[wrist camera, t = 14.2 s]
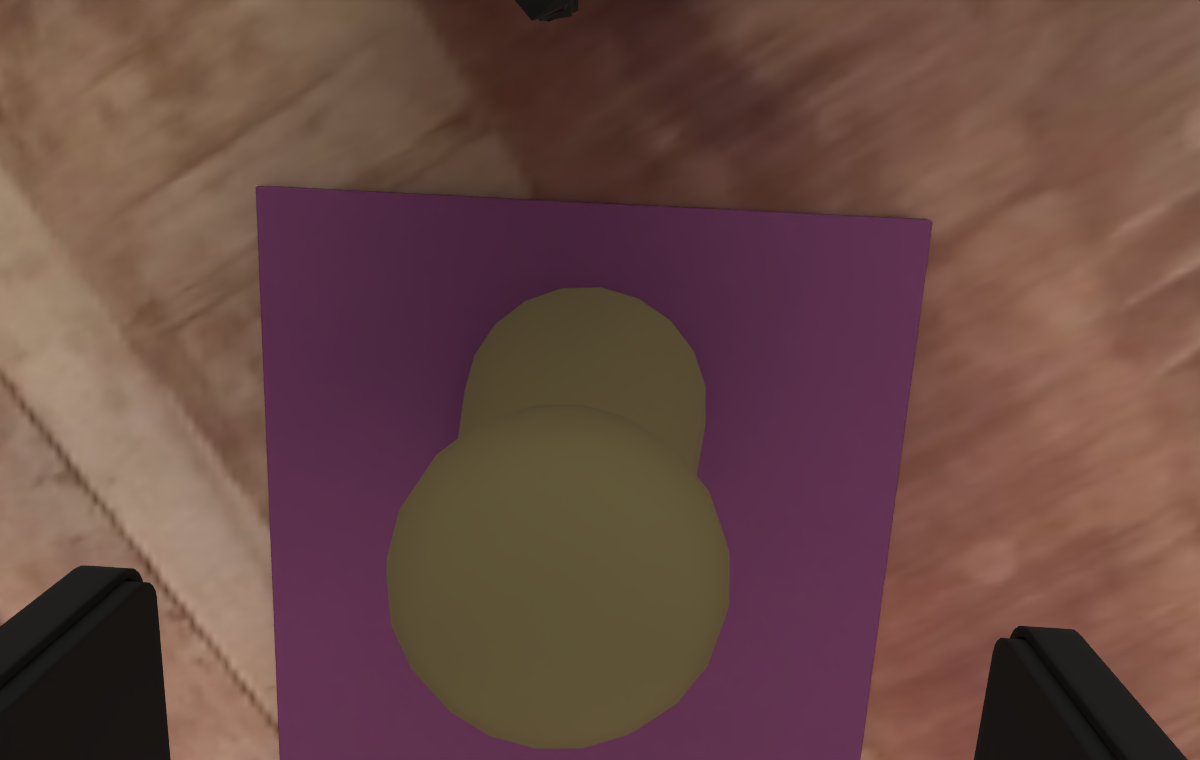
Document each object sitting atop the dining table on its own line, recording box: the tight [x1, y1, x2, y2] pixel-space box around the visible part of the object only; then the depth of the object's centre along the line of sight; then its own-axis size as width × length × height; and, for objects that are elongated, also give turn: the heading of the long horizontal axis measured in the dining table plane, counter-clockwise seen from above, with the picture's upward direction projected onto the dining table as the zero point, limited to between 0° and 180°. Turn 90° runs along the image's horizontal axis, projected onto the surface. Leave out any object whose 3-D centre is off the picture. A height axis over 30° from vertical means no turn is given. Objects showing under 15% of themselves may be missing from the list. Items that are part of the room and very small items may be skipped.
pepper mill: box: [386, 287, 730, 749], centre depth 18 cm, size 6×6×11 cm
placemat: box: [256, 186, 932, 760], centre depth 25 cm, size 20×16×1 cm
